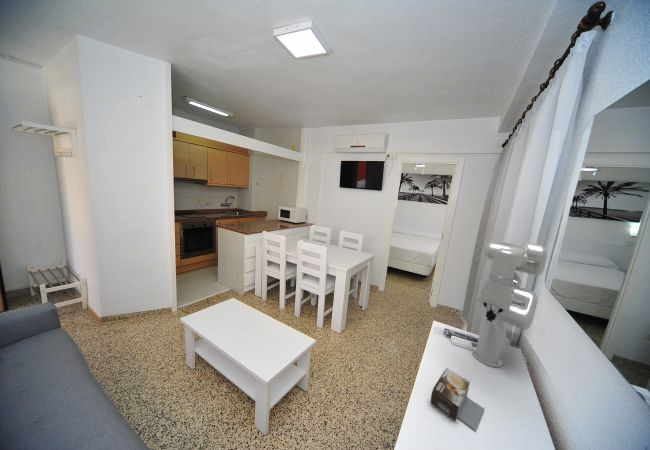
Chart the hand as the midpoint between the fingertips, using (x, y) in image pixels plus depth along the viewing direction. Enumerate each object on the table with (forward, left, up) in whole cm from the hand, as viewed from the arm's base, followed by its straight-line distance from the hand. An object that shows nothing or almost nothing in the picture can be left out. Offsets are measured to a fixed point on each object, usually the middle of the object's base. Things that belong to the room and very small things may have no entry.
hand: (489, 319), depth 93 cm
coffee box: (+12, -4, -25) cm, 28 cm away
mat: (+20, 0, -29) cm, 35 cm away
